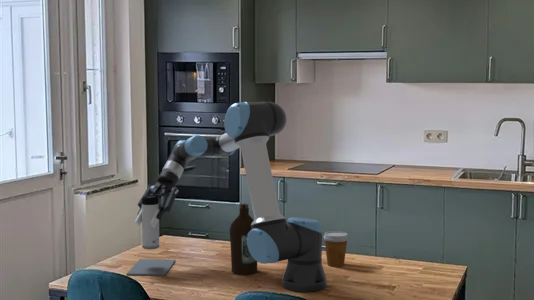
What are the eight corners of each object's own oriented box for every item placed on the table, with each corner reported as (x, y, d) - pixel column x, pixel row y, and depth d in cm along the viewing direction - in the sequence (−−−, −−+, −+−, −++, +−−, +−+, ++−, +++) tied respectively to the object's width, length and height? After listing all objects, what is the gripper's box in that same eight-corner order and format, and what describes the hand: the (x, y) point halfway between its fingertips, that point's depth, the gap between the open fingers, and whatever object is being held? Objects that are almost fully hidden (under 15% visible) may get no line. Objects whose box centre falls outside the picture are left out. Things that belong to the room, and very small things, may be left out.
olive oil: (224, 270, 245) (224, 203, 243) (249, 266, 251) (248, 200, 249) (239, 277, 236) (239, 208, 234) (264, 272, 242) (264, 205, 240)
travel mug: (158, 249, 245) (157, 196, 243) (140, 249, 245) (139, 196, 243) (161, 245, 251) (160, 193, 249) (144, 245, 251) (143, 193, 249)
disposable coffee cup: (347, 261, 257) (348, 231, 256) (348, 268, 248) (348, 236, 246) (323, 261, 258) (323, 230, 257) (322, 267, 249) (323, 236, 247)
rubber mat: (165, 275, 238) (165, 274, 238) (126, 275, 239) (126, 273, 239) (175, 261, 258) (175, 259, 258) (140, 260, 259) (139, 259, 259)
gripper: (194, 183, 255) (170, 233, 242) (154, 179, 264) (128, 227, 251) (186, 170, 250) (161, 221, 237) (146, 167, 259) (119, 216, 246)
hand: (144, 224), depth 244 cm, fingers closed on travel mug, 6 cm apart
